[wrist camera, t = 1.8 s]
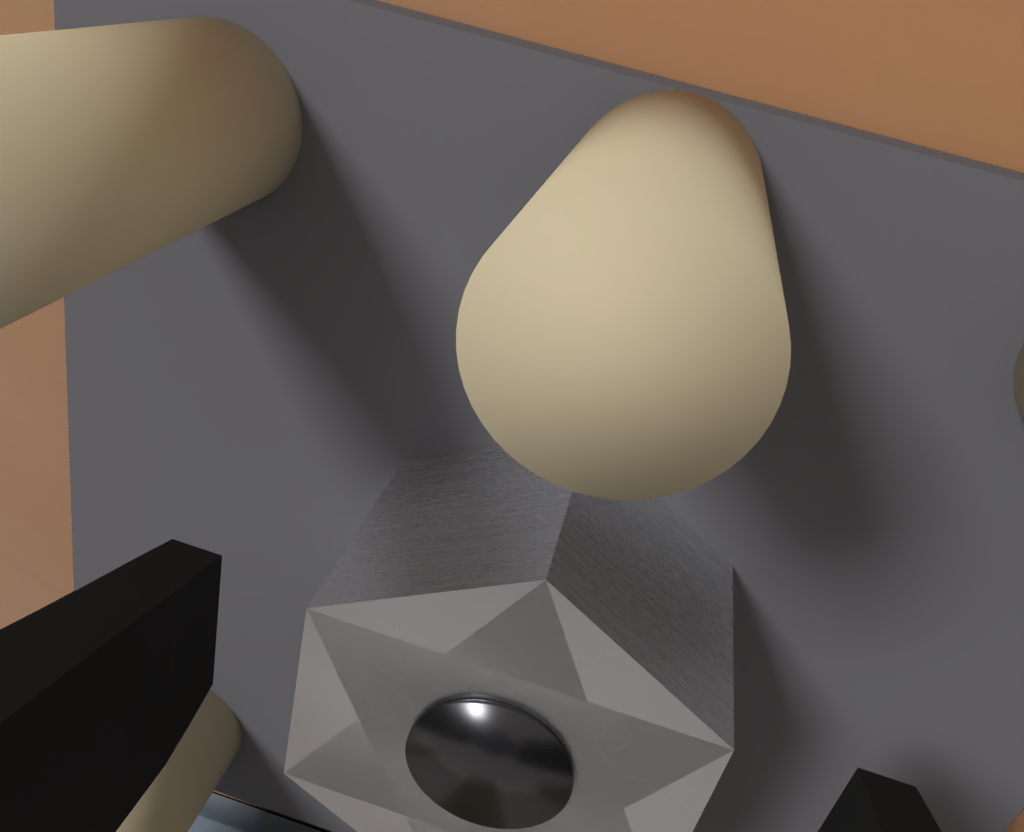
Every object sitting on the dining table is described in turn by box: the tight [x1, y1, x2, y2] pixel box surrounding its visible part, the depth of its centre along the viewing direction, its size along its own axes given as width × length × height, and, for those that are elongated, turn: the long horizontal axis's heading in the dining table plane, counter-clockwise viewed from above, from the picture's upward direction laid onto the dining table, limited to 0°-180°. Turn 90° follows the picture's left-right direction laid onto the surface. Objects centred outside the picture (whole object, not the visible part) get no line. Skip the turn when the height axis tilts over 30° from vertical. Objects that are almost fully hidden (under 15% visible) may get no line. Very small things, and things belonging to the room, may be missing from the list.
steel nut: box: [284, 445, 734, 832], centre depth 11 cm, size 4×5×3 cm
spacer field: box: [0, 0, 1024, 832], centre depth 10 cm, size 14×13×5 cm
